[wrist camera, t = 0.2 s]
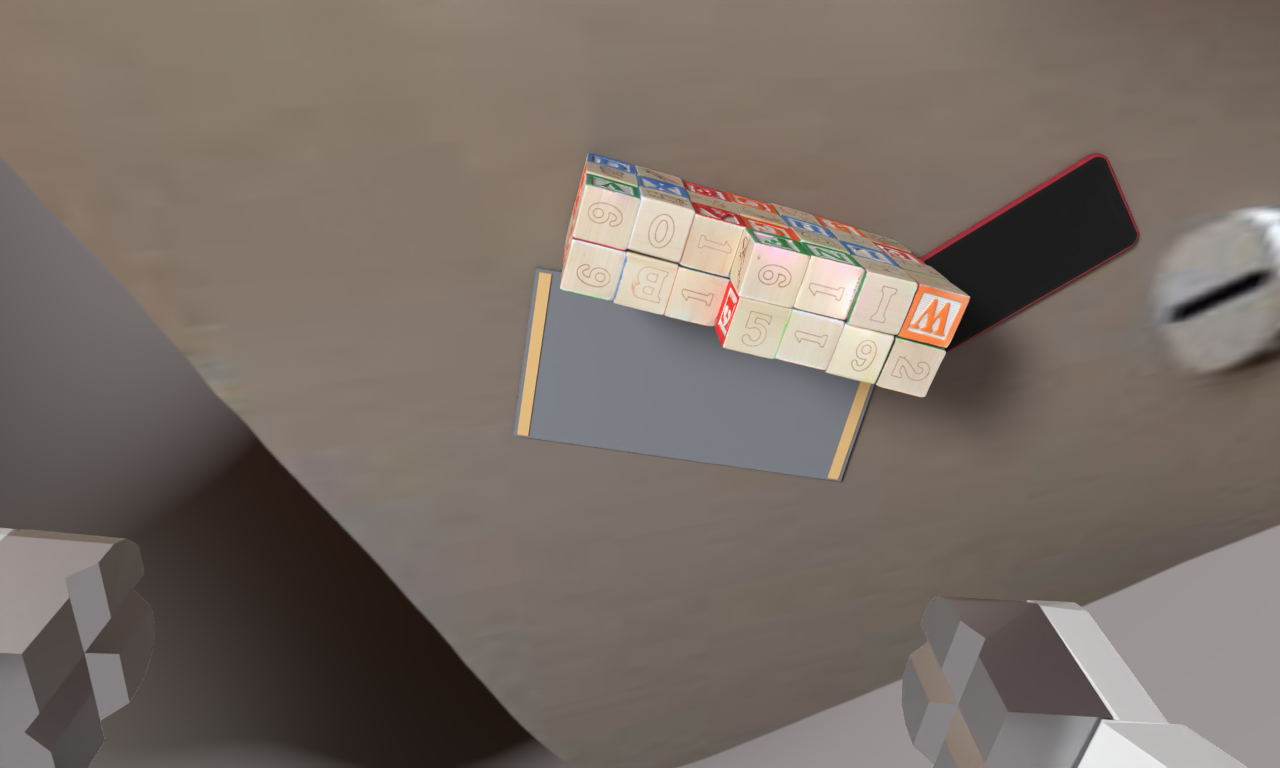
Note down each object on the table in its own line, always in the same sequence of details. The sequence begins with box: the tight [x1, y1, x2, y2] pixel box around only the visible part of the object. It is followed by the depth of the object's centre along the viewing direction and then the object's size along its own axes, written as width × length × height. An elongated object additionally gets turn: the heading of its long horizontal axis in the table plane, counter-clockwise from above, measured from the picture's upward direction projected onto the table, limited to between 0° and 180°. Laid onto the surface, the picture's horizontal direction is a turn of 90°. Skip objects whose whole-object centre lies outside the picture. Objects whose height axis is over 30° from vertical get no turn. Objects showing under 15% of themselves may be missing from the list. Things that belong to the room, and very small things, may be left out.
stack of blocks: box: [560, 153, 970, 397], centre depth 50 cm, size 21×6×12 cm, turn 74°
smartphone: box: [920, 153, 1139, 353], centre depth 57 cm, size 7×1×15 cm
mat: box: [513, 267, 874, 482], centre depth 60 cm, size 13×25×1 cm, turn 79°
